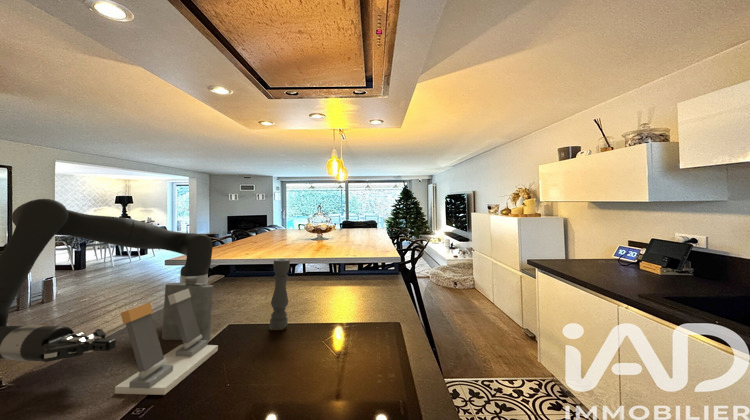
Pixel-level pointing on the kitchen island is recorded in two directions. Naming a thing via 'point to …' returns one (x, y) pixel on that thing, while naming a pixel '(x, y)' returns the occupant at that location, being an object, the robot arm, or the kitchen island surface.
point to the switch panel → (169, 370)
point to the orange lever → (144, 339)
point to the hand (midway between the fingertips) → (112, 345)
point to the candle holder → (280, 294)
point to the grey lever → (185, 317)
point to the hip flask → (200, 304)
